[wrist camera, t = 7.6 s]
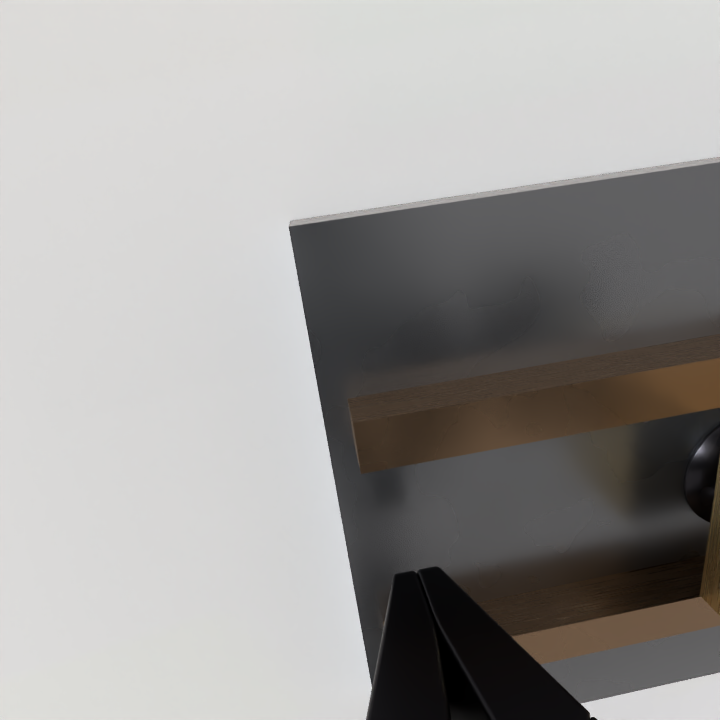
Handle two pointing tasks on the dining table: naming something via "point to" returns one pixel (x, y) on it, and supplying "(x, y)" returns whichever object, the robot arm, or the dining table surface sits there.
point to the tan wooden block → (713, 555)
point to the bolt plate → (532, 411)
